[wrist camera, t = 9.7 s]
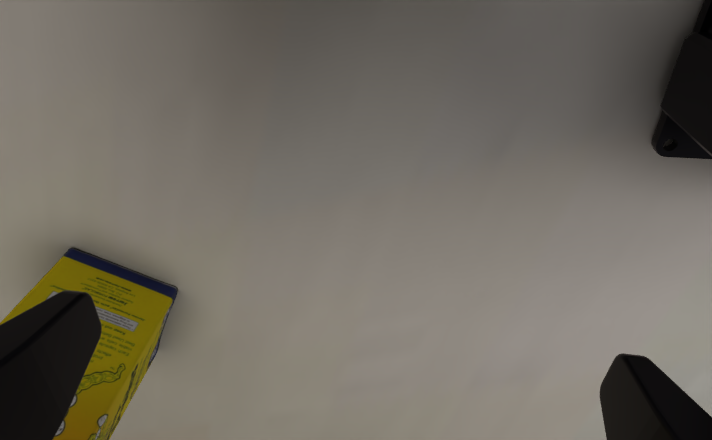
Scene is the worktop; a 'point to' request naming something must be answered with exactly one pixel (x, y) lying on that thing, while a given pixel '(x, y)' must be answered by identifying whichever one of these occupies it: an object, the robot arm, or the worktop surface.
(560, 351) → the worktop surface
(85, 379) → the supplement box
